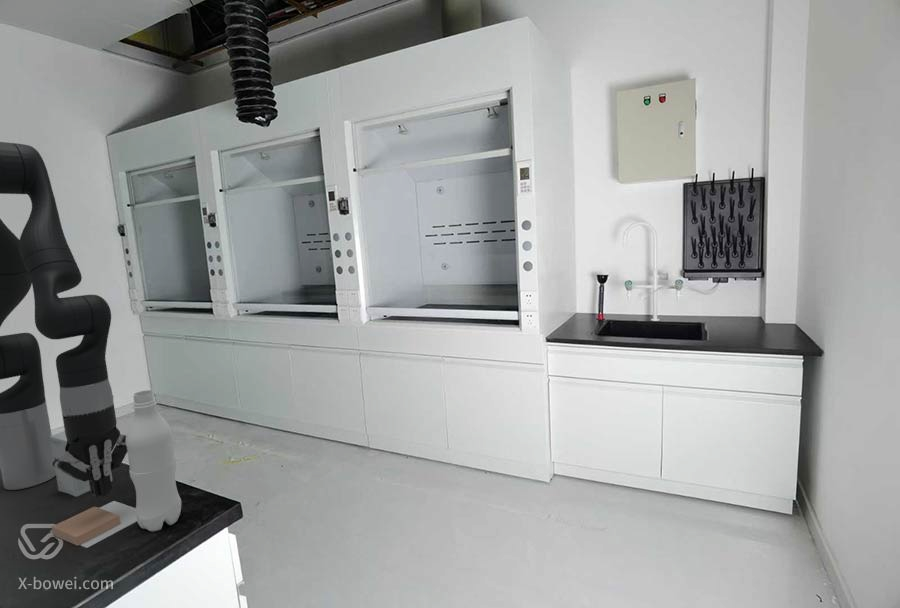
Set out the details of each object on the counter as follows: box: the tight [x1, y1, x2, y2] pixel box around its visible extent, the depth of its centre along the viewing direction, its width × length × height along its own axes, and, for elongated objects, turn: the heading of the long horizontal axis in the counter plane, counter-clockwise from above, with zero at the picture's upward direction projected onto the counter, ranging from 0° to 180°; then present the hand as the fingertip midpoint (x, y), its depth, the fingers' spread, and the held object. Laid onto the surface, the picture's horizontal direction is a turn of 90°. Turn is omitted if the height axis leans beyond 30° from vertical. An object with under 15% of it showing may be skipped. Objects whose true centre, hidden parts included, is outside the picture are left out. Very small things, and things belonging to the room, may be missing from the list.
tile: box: [51, 506, 121, 547], centre depth 87 cm, size 8×2×7 cm
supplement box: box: [50, 430, 114, 498], centre depth 103 cm, size 7×7×13 cm
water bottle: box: [125, 389, 182, 532], centre depth 87 cm, size 7×7×25 cm
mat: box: [49, 500, 138, 549], centre depth 89 cm, size 12×11×1 cm
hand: (102, 495), depth 89 cm, fingers closed
